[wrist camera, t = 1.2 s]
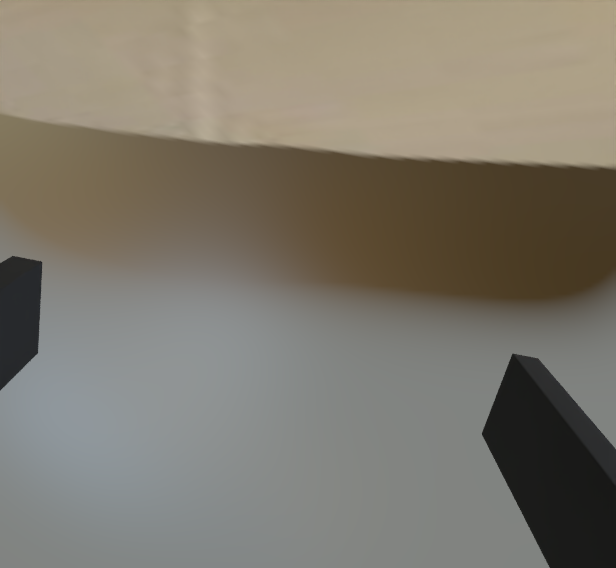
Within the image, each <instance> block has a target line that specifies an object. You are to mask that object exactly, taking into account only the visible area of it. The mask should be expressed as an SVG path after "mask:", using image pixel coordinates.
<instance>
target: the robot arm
mask: <svg viewBox="0 0 616 568" xmlns="http://www.w3.org/2000/svg"><path fill="white" fill-rule="evenodd" d="M41 278H42V262H41V261H36V260H30V259H25V258H20V257H15V256H12V257H11V258H8V259H7V260H5V261H3V262H2V263H0V390H1V389H2V388H3V387H4V386H5V385H6V384H7V383H8V382H9V381H10V380H11V379H12V378H13V377H14V376H15V375H16V374H17V373H18V372H19V371H20V370H21V369H22V368H23V367H24V366H25V365H26V364H27V363H28V362H29V361H30V360H31V359H32V358H33V357H34V356H35V355H36V354H37V353H38V340H39V320H40V299H41ZM482 435H483V437H484V439H485V441H486V443H487V445H488V447H489V449H490V451H491V453H492V455H493V457H494V459H495V461H496V463H497V465H498V467H499V469H500V471H501V473H502V475H503V477H504V479H505V481H506V483H507V485H508V487H509V488H510V490H511V492H512V494H513V496H514V498H515V500H516V502H517V504H518V506H519V508H520V510H521V512H522V514H523V516H524V518H525V520H526V522H527V524H528V526H529V527H530V530H531V532H532V534H533V536H534V538H535V539H536V542H537V544H538V545H539V547H540V549H541V551H542V553H543V555H544V557H545V559H546V561H547V563H548V565H549V567H550V568H616V449H615V448H614V447H613V445H612V444H611V443H610V442H609V441H608V440H607V438H605V436H604V435H603V434H602V433H601V431H600V430H599V429H598V428H597V427H596V426H595V424H594V423H593V422H592V421H591V420H590V418H589V417H588V416H587V415H586V414H585V413H584V411H583V410H582V409H581V408H580V407H579V406H578V405H577V403H576V402H575V401H574V400H573V399H572V398H571V396H570V395H569V394H568V393H567V392H566V391H565V389H564V388H563V387H562V386H561V385H560V383H559V382H558V381H557V380H556V379H555V378H554V377H553V375H552V374H551V373H550V372H549V371H548V369H547V368H546V367H545V366H544V365H543V364H542V363H541V361H540V360H539V359H538V358H533V357H527V356H522V355H517V354H512V357H511V359H510V362H509V364H508V367H507V370H506V372H505V375H504V377H503V380H502V383H501V385H500V388H499V390H498V393H497V395H496V398H495V401H494V404H493V406H492V409H491V411H490V414H489V416H488V419H487V422H486V424H485V427H484V429H483V432H482Z"/></svg>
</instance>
